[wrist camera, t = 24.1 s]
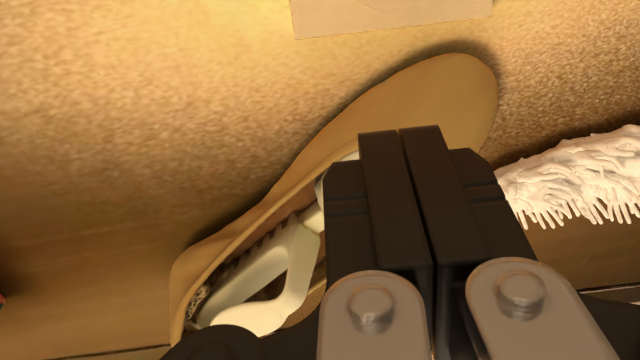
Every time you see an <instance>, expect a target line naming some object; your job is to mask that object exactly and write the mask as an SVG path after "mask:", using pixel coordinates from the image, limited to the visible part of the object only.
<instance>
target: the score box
mask: <svg viewBox="0 0 640 360" xmlns="http://www.w3.org/2000/svg"><path fill="white" fill-rule="evenodd" d="M289 2H290V9H291V16H292V23H293V30H294V37H295V40H299V39H307V38H316V37H325V36H333V35H342V34H350V33H359V32H368V31H376V30H385V29H394V28H402V27H411V26H420V25H428V24H437V23H446V22H454V21H463V20H472V19H480V18H489V17H492V11H493V0H289Z"/></svg>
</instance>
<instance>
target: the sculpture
mask: <svg viewBox="0 0 640 360" xmlns="http://www.w3.org/2000/svg"><path fill="white" fill-rule="evenodd" d="M494 174H495V176H496V178H497V180H498V184H500V186H501V188H502V190H503V192H504V194H505V198H506V200H508V202H509V204H510V206H511V208H512V210H513V212H514V214H515V216H516V218H517V212H518V214H519V217H520V219H521V221H522V224H523V226H524V228H525V229H526V230H527V229H528V225H527V223H526V220H525V217H524V214H523V212H522V210H524V211H525V212H526V215H529V216H530V217H531V219H532V220H533V222H535V223H536V222H537V220H538V221H539V222H540V224H541V226H542V227H543V229H546V226H545V224H544V222H543V220H542V218H541V215H540V213H542V214H543V216H544V218H545V219H546V220H547V221H548V223H549V224H550V226H551V227H552V228H553V229H554V228H555V225H554V223H553V221H552V220H551V218H550V216H549V215H548V213H547V211H546V210H548V211H549V212H550V213H551V215H552V216H553V217H554V218H555V219H556V220H557V222H558V223H559V224H560V225H561V226H564V223H563V221H562V220H561V219H563V215H562V212H563V213H564V214H565V215H567V216H568V218H569V219H571V218H572V215H571V213H570V210H569V208H568V205H567V201H568V203H569V204H570V206H571V207H572V209H573V211H574V213H575V214H576V216H578V217H579V216H580V213H579V211H580V212H581V213H582V215H584V216H585V217H586V218H588V219H590V221H591V222H592V223H593V224H596V223H597V222H596V220H595V219H594V217H593V215H594V216H595V218H596V219H597V221H598V222H599V223H600V224H603V221H602V219H601V218H600V216H599V215H598V213H597V211H596V209H595V207H594V205H593V203H594V204H595V205H596V206H597V207H598V209H599V210H600V211H601V212H602V213H603V215H604V216H605V217H606V218H607V219H609V218H610V220H611V221H612V222H613V221H614V218H613V213H612V206H613V207H614V211H615V214H616V216H617V220H618V222H619V223H620V224H622V223H623V220H622V218H621V214H620V209H619V205H620V207H621V210H622V212H623V214H624V216H625V219H626V221H627V223H628V224H631V219H630V217H629V215H628V212H627V209H626V206H625V202H626V203H627V204H628V205H629V209H630V212H631V214H633V213H635V214H636V216H637V217H639V218H640V213H639V211H638V210H637V208H636V207H635V205H634V203H637V204H638V206H639V208H640V197H639V195H640V125H639V126H637V125H635V124H634V125H632V124H628V125H624V126H623V127H622V128H619V129H617V130H614V131H612V132H609V133H602V134H591V136H587V137H580V138H575V139H571V140H567V139H562V141H561V142H560V143H559V144H558V145H557V146H556V147H555V148H551V149H548V150H546V151H545V152H543V153H541V154H538V155H533V156H531V157H529V158H527V159H524V158H522V157H521V159H520V160H519V161H517V162H515V163H512V164H509V165H507V166H504V167H501V168H499V169H497V170H495V171H494ZM597 197H599V198H600V199H602V200H603V201H604V202H605V203H606V204H607V207H608V209H607V211H608V213H607V212H606V210H605V209H604V207H603V206H602V205H601V204H600V202H599V201H598V200H597ZM572 198H573V200H574V201H573V200H572ZM574 202H575V203H574ZM560 204H562V206H563V207H562V206H560ZM575 204H576V205H575ZM576 206H577V207H576ZM552 208H553V209H552ZM577 208H578V209H579V211H578V209H577ZM589 208H590V210H591V212H592V213H593V215H592V214H591V212H590V210H589ZM554 210H557V211H558V214H559V216H560V217H559V216H558V215H557V213H556V212H555V211H554ZM561 211H562V212H561ZM532 212H534V213H535V215H536V217H537V219H536V218H535V216H534V215H533V213H532ZM560 218H561V219H560ZM517 220H518V218H517Z"/></svg>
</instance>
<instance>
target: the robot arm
mask: <svg viewBox="0 0 640 360" xmlns="http://www.w3.org/2000/svg"><path fill="white" fill-rule="evenodd" d="M357 135H358V149H359V159H357V160H348V161H338V162H332V164H331V166H330V167H329V169H328V171H327V173H326V174H325V176H324V178H323V179H322V185H323V208H324V231H325V254H326V278H327V282H326V289H325V293H324V296H323V298H322V300H321V302H320V303H319V305H318V306H317V308H316V309H315V310H314V311H313V312H312V313H311V314H310V315H309V316H307V317H306V318H305V319H304V320H302V321H301V322H299V323H297V324H296V325H294V326H291V327H289V328H287V329H285V330H282V331H279V332H277V333H274V334H272V335H269V336H266V337H264V338H261V339H259V338H258V337H257V336H256V335H255V334H254V333H253V332H251V331H250V330H248V329H246V328H244V327H241V326H237V325H231V324H217V325H212V326H208V327H205V328H202V329H199V330H197V331H195V332H193V333H191V334H189V335H187V336H186V337H184V338H183V339H181V340H180V341H179V342H178V343H177V344H175V345H174V346H173V347H172V348H171V349H170V350H169V351H168V352H167V353H166V354H165V355H164V356H163V357H162V358H161V359H159V360H432V356H431V355H432V354H433V359H434V360H640V305H636V304H630V303H623V302H617V301H611V300H604V299H600V298H595V297H591V296H588V295H584V294H581V293H579V292H577V291H575V290H574V288H573V287H572V285H571V284H570V283H569V281H568V280H567V279H566V278H565V277H564V276H563V275H561V274H560V273H559V272H557V271H556V270H555V269H553V268H551V267H549V266H547V265H545V264H543V263H540V262H539V261H538V260H537V258H536V256H535V254H534V252H533V250H532V248H531V246H530V244H529V242H528V240H527V238H526V236H525V234H524V232H523V230H522V228H521V226H520V224H519V222H518V220H517V218H516V216H515V214H514V212H513V210H512V208H511V206H510V204H509V202H508V200H506V198H505V194H504V192H503V190H502V188H501V186H500V184H498V180H497V178H496V176H495V174H494V172H493V170H492V168H491V166H490V164H489V162H488V161H486V160H485V159H484V158H482V157H481V156H480V155H478V154H477V153H476V152H474V151H473V150H472V149H470V148H469V147H468V148H459V149H448V147H447V144H446V142H445V140H444V137H443V135H442V132H441V130H440V127H439V126H438V125H437V124H435V125H426V126H417V127H408V128H399V129H398V134H397V131H396V129H391V130H382V131H372V132H363V133H358V134H357Z"/></svg>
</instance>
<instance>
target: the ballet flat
mask: <svg viewBox="0 0 640 360" xmlns="http://www.w3.org/2000/svg"><path fill="white" fill-rule="evenodd" d="M498 100H499V90H498V84H497V80H496V78H495V76H494V74H493V72H492V70H491V69H490V68H489V67H488V66H487V65H486V64H485V63H483V62H482V61H481V60H479V59H478V58H476V57H474V56H471V55H468V54H465V53H447V54H443V55H438V56H435V57H432V58H429V59H426V60H423V61H420V62H418V63H416V64H414V65H412V66H409V67H407V68H405V69H403V70H401V71H399V72H397V73H396V74H394V75H393V76H391V77H390V78H388V79H386V80H385V81H383V82H381V83H380V84H378V85H376V86H375V87H373V88H371V89H369V90H368V91H367V92H365V93H364V94H363V95H361V96H360V97H359V98H357V99H356V100H355V101H354V102H352V103H351V104H350V105H349V106H348V107H347V108H346V109H345V110H344V111H343V112H341V113H340V114H339V115H338V116H337V117H336V118H334V119H333V120H332V121H331V122H330V123H328V124H327V125H326V126H325V127H324V128H323V129H322V130H321V131H320V132H319V133H318V134H317V135H316V136H315V137H314V138H313V139H312V140H311V141H310V142H309V143H308V145H307V146H306V147H305V148H304V149H303V150H302V151H301V153H300V154H299V155H298V156H297V158H296V159H295V160H294V162H293V163H292V165H291V166H290V167H289V168H288V169H287V170H286V172H285V173H284V174H283V176H282V177H281V178H280V180H279V181H278V182H277V183H276V184H275V185H274V186H273V187H272V189H271V190H270V191H269V193H268V194H267V195H266V196H265V197H264V199H263V200H262V201H261V202H260V203H258V204H257V205H256V206H254V207H253V208H251V209H250V210H249V211H247V212H246V213H245V214H244V215H242V216H241V217H239V218H238V219H237V220H235V221H233V222H232V223H230V224H228V225H227V226H226V227H225V228H223V229H222V230H220V231H219V232H217V233H215V234H213V235H211V236H209V237H208V238H206V239H204V240H202V241H200V242H198V243H196V244H194V245H192V246H190V247H189V248H187V249H186V250H185V251H184V252H183V253H182V254H181V255H180V256H179V257H178V258H177V259H176V260H175V261H174V263H173V265H172V268H171V271H170V276H169V283H168V293H169V309H170V311H169V328H170V331H169V338H170V343H171V346H172V347H173V346H174V345H175V344H177V343H178V342H179V341H180V340H181V339H183V338H184V337H186V336H187V335H189V334H191V333H193V332H195V331H197V330H199V329H202V328H205V327H208V326H212V325H217V324H231V325H237V326H241V327H244V328H246V329H248V330H250V331H251V332H253V333H254V334H255V335H256V336H257V337H259V336H263V335H266V334H268V333H271V332H273V331H274V330H276V329H278V328H279V327H280V326H281V325H282V324H283V323H284V322H285V320H286V318H287V316H288V315H290V314H291V313H293V312H294V311H296V310H297V309H298V308H299V307H300V306H301V304H302V303H303V301H304V299H305V297H306V296H307V295H309V294H310V293H312V292H313V291H314V290H315V289H317V288H318V287H320V286H321V285H323V284H324V283H325V282H327V278H326V254H325V231H324V208H323V185H322V179H323V178H324V176H325V174H326V173H327V171H328V169H329V167H330V166H331V164H332V162H338V161H348V160H357V159H359V149H358V135H357V134H358V133H363V132H372V131H382V130H391V129H396V131H397V134H398V129H399V128H408V127H417V126H426V125H435V124H437V125H438V126H439V127H440V130H441V132H442V135H443V137H444V140H445V142H446V144H447V147H448V149H459V148H468V147H469V148H470V149H472V150H473V151H474V152H476V153H478V151H479V150H480V148H481V146H482V145H483V143H484V141H485V140H486V138H487V136H488V134H489V132H490V130H491V127H492V125H493V123H494V120H495V117H496V113H497V109H498Z"/></svg>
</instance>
